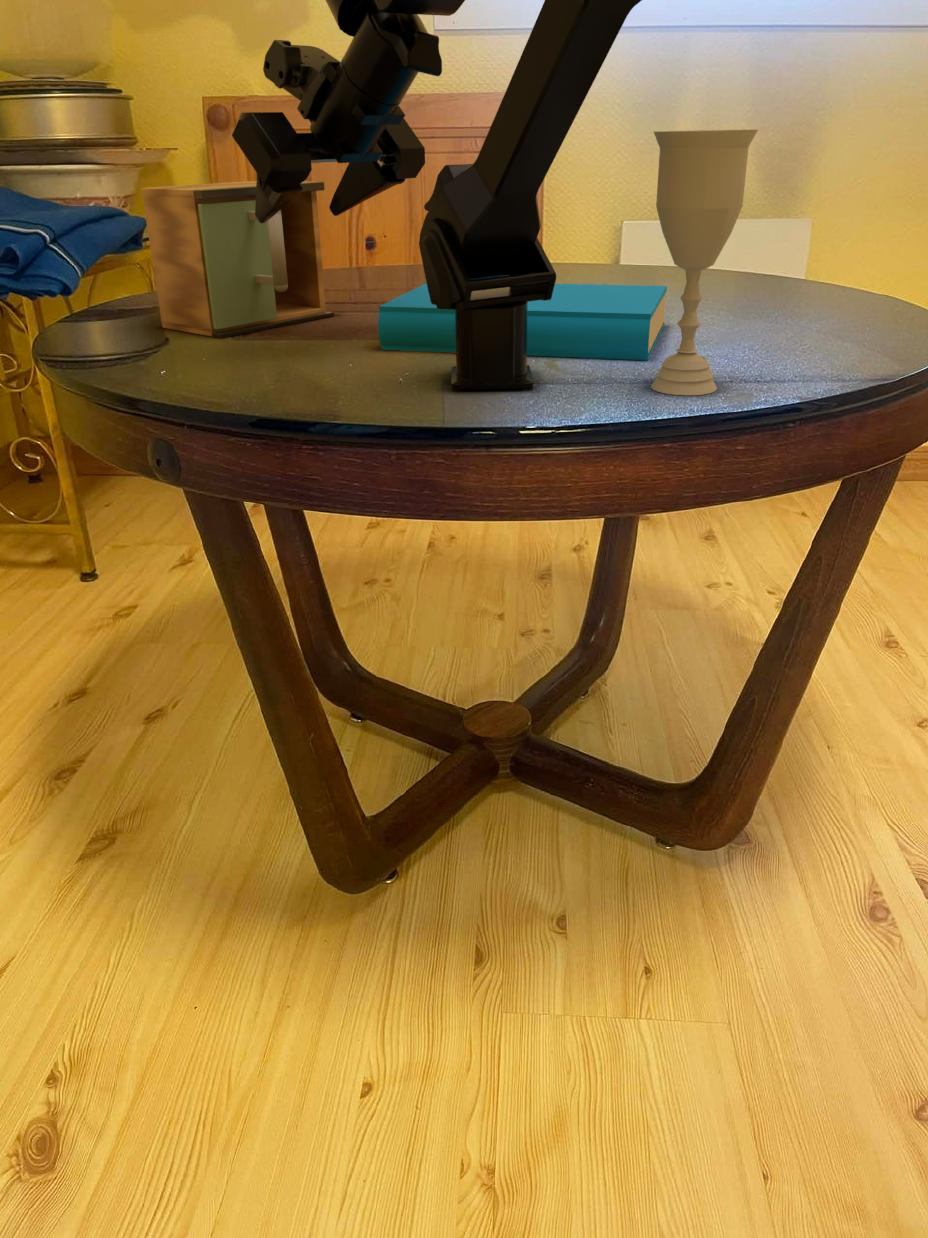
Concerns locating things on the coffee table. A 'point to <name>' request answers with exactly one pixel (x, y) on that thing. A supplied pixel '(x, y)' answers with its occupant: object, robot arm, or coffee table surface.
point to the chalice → (697, 230)
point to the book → (543, 322)
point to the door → (242, 262)
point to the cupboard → (184, 257)
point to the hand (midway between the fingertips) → (297, 215)
